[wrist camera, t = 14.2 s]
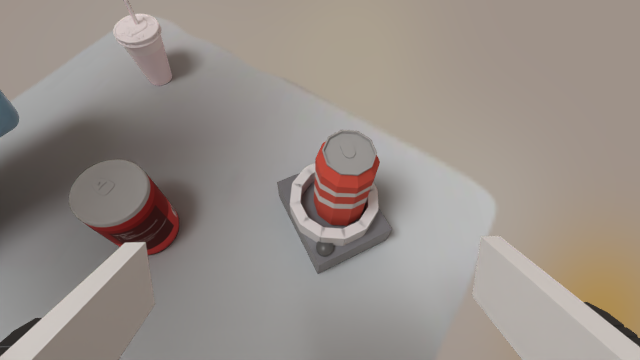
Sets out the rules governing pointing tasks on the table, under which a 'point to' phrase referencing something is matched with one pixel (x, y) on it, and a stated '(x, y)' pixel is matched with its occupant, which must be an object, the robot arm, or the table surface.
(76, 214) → the canned food
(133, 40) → the smoothie
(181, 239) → the table surface
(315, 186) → the beverage can
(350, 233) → the mount
